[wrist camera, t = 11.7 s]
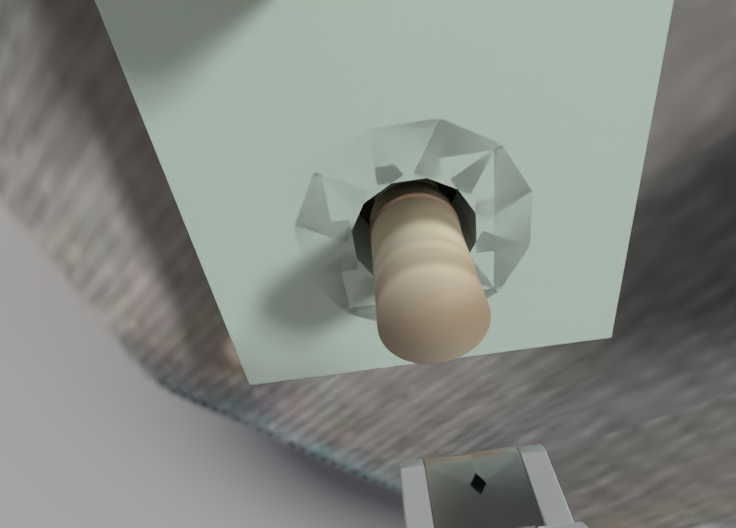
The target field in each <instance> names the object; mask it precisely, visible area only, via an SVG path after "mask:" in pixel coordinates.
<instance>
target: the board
mask: <svg viewBox="0 0 736 528" xmlns="http://www.w3.org/2000/svg"><path fill="white" fill-rule="evenodd" d="M95 2H96V5H97V7H98V10H99V12H100V15H101V17H102V20H103V22H104V25H105V27H106V30H107V32H108V35H109V37H110V40H111V42H112V45H113V47H114V50H115V52H116V55H117V57H118V60H119V62H120V64H121V67H122V69H123V72H124V74H125V77H126V79H127V82H128V84H129V87H130V89H131V92H132V94H133V97H134V99H135V102H136V104H137V107H138V109H139V112H140V114H141V117H142V119H143V122H144V124H145V126H146V129H147V131H148V134H149V136H150V139H151V141H152V144H153V146H154V149H155V151H156V154H157V156H158V159H159V161H160V164H161V166H162V169H163V171H164V174H165V176H166V179H167V181H168V184H169V186H170V188H171V191H172V193H173V196H174V198H175V201H176V203H177V206H178V208H179V211H180V213H181V216H182V218H183V221H184V223H185V226H186V228H187V231H188V233H189V236H190V238H191V241H192V243H193V245H194V248H195V250H196V253H197V255H198V258H199V260H200V263H201V265H202V268H203V270H204V273H205V275H206V278H207V280H208V283H209V285H210V288H211V290H212V293H213V295H214V298H215V300H216V303H217V305H218V307H219V310H220V312H221V315H222V317H223V320H224V322H225V325H226V327H227V330H228V332H229V335H230V337H231V340H232V342H233V345H234V347H235V350H236V352H237V355H238V357H239V360H240V362H241V365H242V367H243V369H244V372H245V374H246V377H247V379H248V382H249V384H250V385H254V384H262V383H270V382H277V381H285V380H292V379H300V378H308V377H315V376H323V375H330V374H338V373H346V372H353V371H361V370H368V369H376V368H384V367H391V366H399V365H406V364H414V363H413V362H409V361H406V360H403V359H401V358H399V357H397V356H396V355H394V354H393V353H391V352H390V351H389V350H388V349H387V348H386V347H385V346H384V344H383V343H382V341H381V339H380V337H379V334H378V329H377V317H376V303H375V289H374V275H373V260H372V249H371V246H370V241H369V228H370V225H369V224H368V223H367V222H366V221H365V220H364V219H363V217H362V216H361V215H360V214H359V213H360V211H361V209H362V206H363V204H364V203H365V202H366V201H368V200H369V199H371V198H372V197H373V196H375V195H376V194H377V193H379V192H380V191H382V190H383V189H384V188H386V187H387V186H389V185H390V184H391V183H397V182H404V181H411V180H417V179H424V178H428V179H430V180H433V181H436V182H439V183H441V184H444V185H447V186H450V187H452V188H455V189H456V195H455V197H454V199H453V200H452V202H451V204H452V207H453V208H454V210H455V211H456V214H457V216H458V218H459V221H460V225H461V231H462V234H463V237H464V239H465V242H466V245H467V247H468V250H469V253H470V256H471V258H472V261H473V264H474V266H475V269H476V272H477V274H478V277H479V280H480V282H481V285H482V288H483V291H484V293H485V296H486V299H487V301H488V304H489V307H490V312H491V322H490V326H489V329H488V331H487V333H486V335H485V337H484V338H483V339H482V341H481V342H480V343H479V344H478V345H477V346H476V347H475V348H474V349H473V350H471V351H470V352H468V353H467V354H465V355H463V356H461V357H467V356H475V355H482V354H490V353H498V352H505V351H513V350H520V349H528V348H536V347H543V346H551V345H558V344H566V343H574V342H581V341H589V340H596V339H604V338H611V337H612V332H613V326H614V321H615V316H616V310H617V305H618V299H619V294H620V289H621V283H622V278H623V272H624V267H625V261H626V256H627V251H628V245H629V240H630V234H631V229H632V224H633V218H634V213H635V207H636V202H637V196H638V191H639V186H640V180H641V175H642V169H643V164H644V159H645V153H646V148H647V142H648V137H649V132H650V126H651V121H652V115H653V110H654V104H655V99H656V94H657V88H658V83H659V77H660V72H661V67H662V61H663V56H664V50H665V45H666V39H667V34H668V29H669V23H670V18H671V12H672V7H673V2H674V0H95ZM459 358H460V357H459Z"/></svg>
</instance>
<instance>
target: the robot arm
mask: <svg viewBox="0 0 736 528" xmlns="http://www.w3.org/2000/svg"><path fill="white" fill-rule="evenodd" d="M424 466H425V467H424ZM400 479H401V488H402V498H403V507H404V517H405V526H406V528H588V527H587V526H586V525H585V524H584V523H583V522H574V521H573V518H572V515H571V513H570V510H569V508H568V505H567V503H566V500H565V498H564V495H563V493H562V490H561V488H560V485H559V483H558V480H557V478H556V475H555V473H554V470H553V468H552V465H551V463H550V460H549V457H548V455H547V452H546V450H545V448H544V447H543V446H542V445H541V444H534V445H527V446H520V447H508V448H501V449H494V450H487V451H480V452H473V453H469V454H461V455H453V456H445V457H436V458H428V459H424V461H423V459H417V460H409V461H402V462H400Z"/></svg>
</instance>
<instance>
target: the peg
mask: <svg viewBox="0 0 736 528" xmlns="http://www.w3.org/2000/svg"><path fill="white" fill-rule="evenodd" d="M374 202H375V203H374V205H373V207H372V210H371V214H370V228H369V241H370V246H371V249H372V260H373V275H374V289H375V303H376V317H377V329H378V334H379V337H380V339H381V341H382V343H383V344H384V346H385V347H386V348H387V349H388V350H389V351H390V352H391V353H393V354H394V355H396V356H397V357H399V358H401V359H403V360H406V361H409V362H413V363H418V364H438V363H444V362H448V361H452V360H454V359H457V358H459V357H461V356H463V355H465V354H467V353H468V352H470V351H471V350H473V349H474V348H475V347H476V346H477V345H478V344H479V343H480V342H481V341H482V339H483V338H484V337H485V335H486V333H487V331H488V329H489V326H490V322H491V312H490V307H489V304H488V301H487V299H486V296H485V293H484V291H483V288H482V285H481V282H480V280H479V277H478V274H477V272H476V269H475V266H474V264H473V261H472V258H471V256H470V253H469V250H468V247H467V245H466V242H465V239H464V237H463V234H462V231H461V225H460V221H459V218H458V216H457V214H456V211H455V210H454V208H453V207H452V204H451V202H450V200H449V199H448V197H447V196H446V194H445V193H444V192H443V191H441V190H440V189H439V188H438V185H437V182H436V181H433V180H430V179H428V178H424V179H417V180H411V181H404V182H397V183H391V184H390V185H389V186H387V187H386V188H384V189H383V190H382V191H380V192H379V193H377V194H376V195H375V196H374Z"/></svg>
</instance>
